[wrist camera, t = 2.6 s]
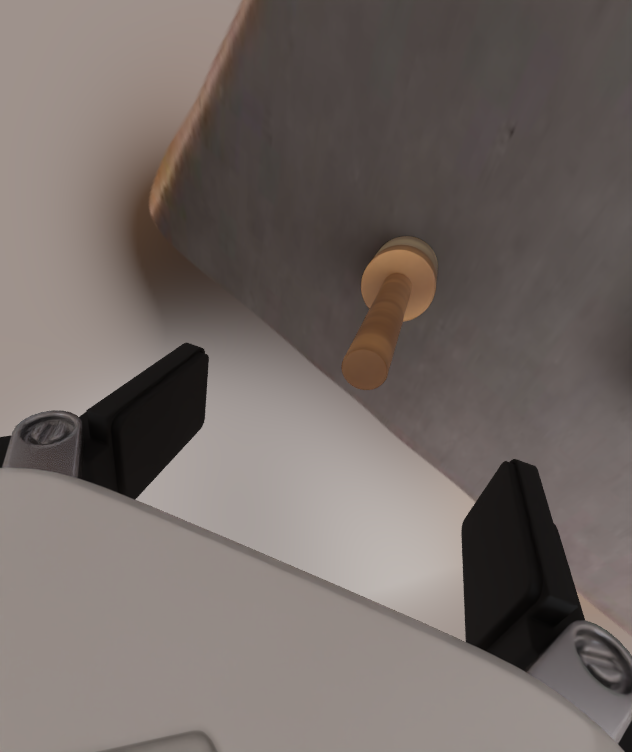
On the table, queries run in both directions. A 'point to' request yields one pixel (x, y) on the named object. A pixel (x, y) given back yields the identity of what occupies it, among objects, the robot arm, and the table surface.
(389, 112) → the table surface
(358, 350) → the wooden stamp
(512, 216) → the table surface
